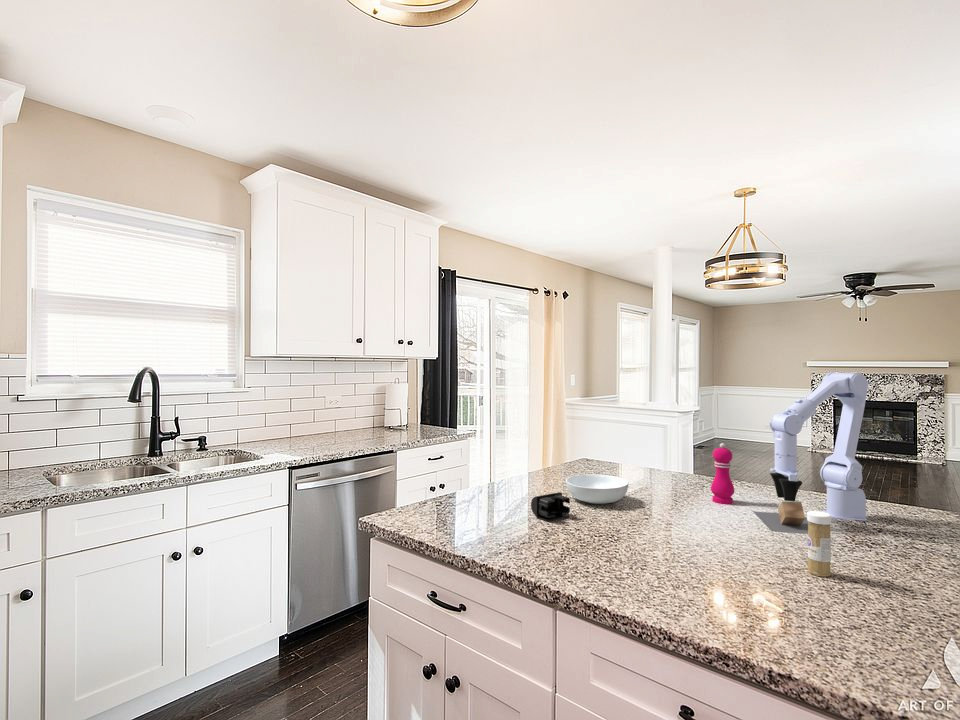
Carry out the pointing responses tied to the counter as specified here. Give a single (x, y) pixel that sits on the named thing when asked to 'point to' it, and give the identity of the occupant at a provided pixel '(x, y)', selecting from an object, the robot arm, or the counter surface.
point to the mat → (775, 524)
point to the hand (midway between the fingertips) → (785, 500)
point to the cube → (791, 513)
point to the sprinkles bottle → (819, 543)
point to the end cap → (550, 507)
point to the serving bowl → (597, 488)
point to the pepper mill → (722, 476)
